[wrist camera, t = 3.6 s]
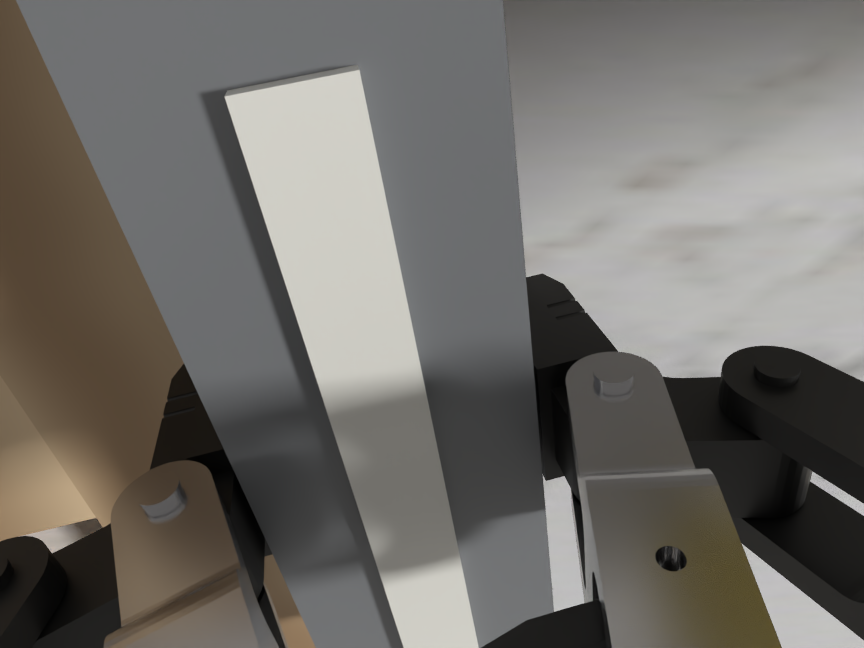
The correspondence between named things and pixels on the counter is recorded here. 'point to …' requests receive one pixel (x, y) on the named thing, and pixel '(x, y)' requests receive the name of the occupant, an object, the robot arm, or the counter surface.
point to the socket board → (73, 325)
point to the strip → (336, 285)
